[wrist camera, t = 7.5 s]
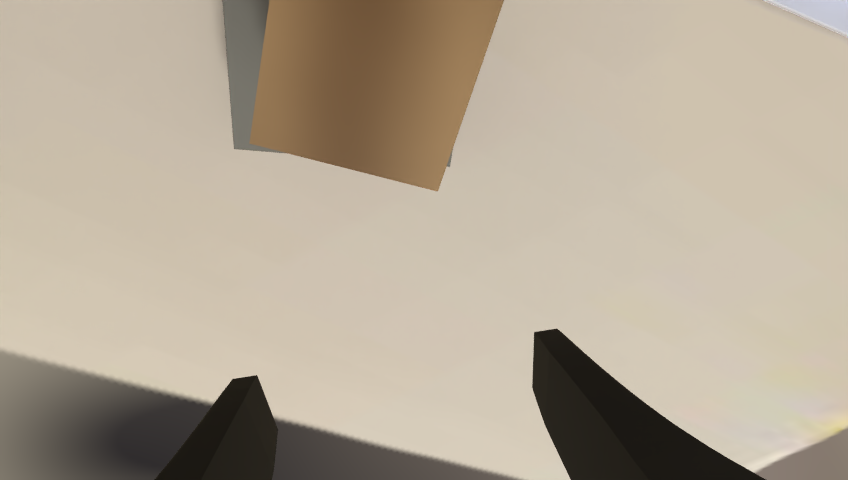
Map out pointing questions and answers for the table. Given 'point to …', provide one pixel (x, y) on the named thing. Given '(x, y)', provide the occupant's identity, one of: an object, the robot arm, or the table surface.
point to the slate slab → (245, 64)
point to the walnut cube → (371, 82)
